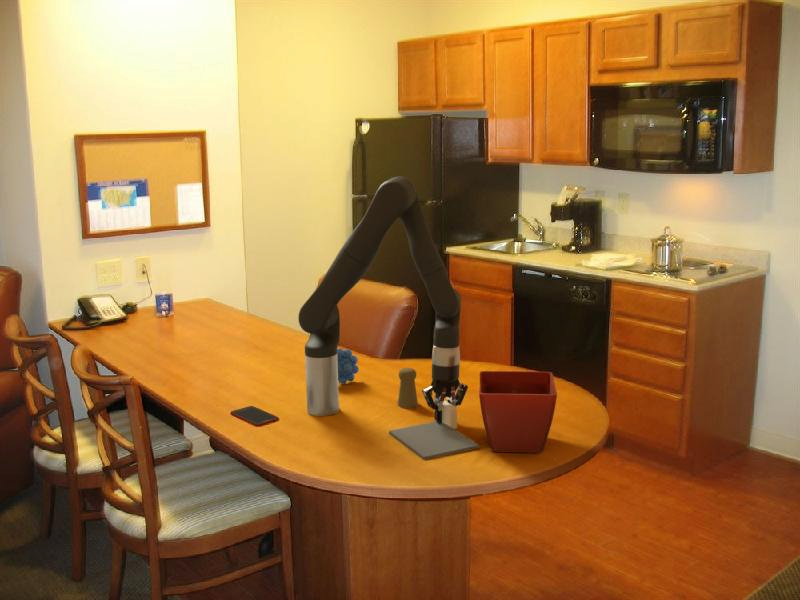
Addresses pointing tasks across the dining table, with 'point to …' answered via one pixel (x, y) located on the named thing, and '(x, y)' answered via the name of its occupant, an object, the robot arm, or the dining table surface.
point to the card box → (449, 414)
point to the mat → (433, 440)
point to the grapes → (346, 365)
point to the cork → (407, 388)
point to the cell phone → (254, 416)
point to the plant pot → (517, 409)
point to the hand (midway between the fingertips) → (444, 421)
